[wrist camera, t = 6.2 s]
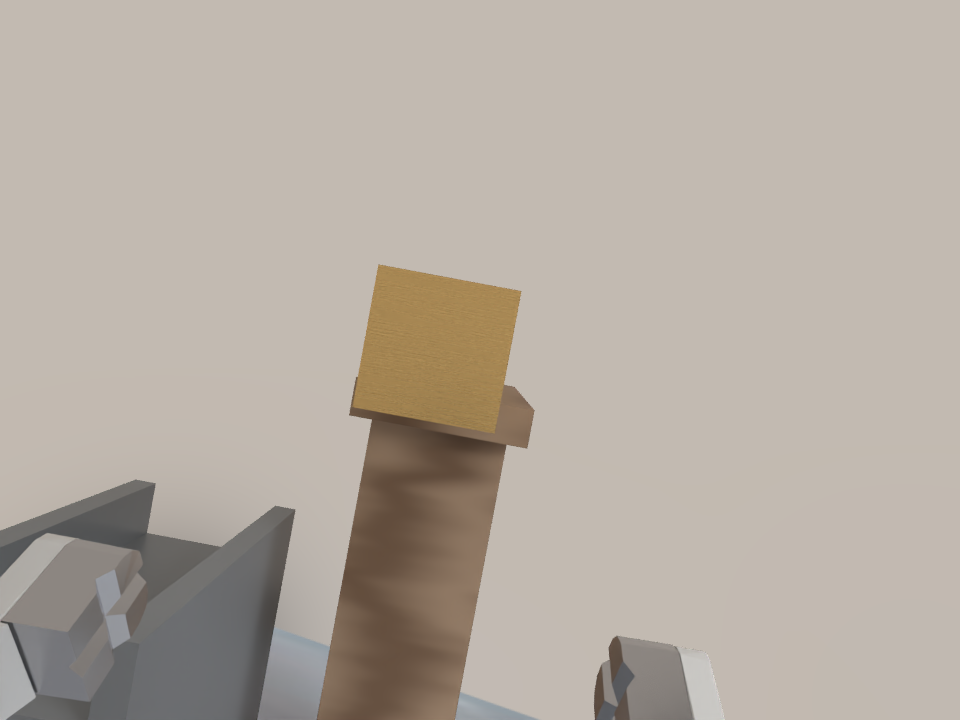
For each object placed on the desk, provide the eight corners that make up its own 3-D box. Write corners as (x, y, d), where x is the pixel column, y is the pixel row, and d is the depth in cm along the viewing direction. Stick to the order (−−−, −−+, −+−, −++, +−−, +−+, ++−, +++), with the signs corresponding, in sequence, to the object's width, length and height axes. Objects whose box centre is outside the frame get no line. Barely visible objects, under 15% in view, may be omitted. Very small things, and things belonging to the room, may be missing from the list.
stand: (438, 789, 40) (514, 386, 39) (412, 1059, 25) (534, 410, 24) (329, 769, 40) (404, 366, 39) (236, 1026, 25) (356, 377, 24)
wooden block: (429, 372, 37) (439, 314, 37) (487, 383, 37) (497, 325, 37) (352, 407, 15) (378, 264, 15) (494, 433, 15) (521, 291, 15)
